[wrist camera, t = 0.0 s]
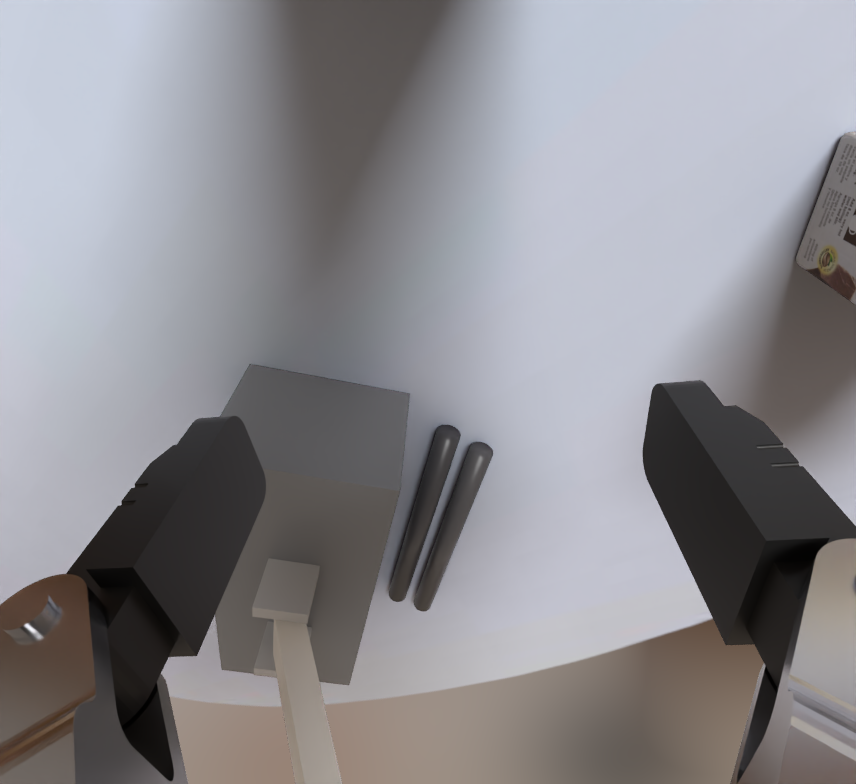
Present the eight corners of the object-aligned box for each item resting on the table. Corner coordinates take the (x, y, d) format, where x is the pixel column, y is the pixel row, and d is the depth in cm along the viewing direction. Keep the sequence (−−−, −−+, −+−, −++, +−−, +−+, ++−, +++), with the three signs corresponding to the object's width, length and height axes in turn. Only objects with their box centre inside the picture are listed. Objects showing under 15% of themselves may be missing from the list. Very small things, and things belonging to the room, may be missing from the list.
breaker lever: (301, 582, 29) (371, 881, 20) (297, 630, 33) (354, 901, 24) (267, 591, 28) (323, 908, 19) (266, 639, 32) (313, 925, 23)
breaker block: (505, 411, 31) (527, 562, 23) (428, 601, 46) (424, 737, 37) (243, 362, 30) (158, 505, 21) (249, 575, 44) (201, 712, 36)
